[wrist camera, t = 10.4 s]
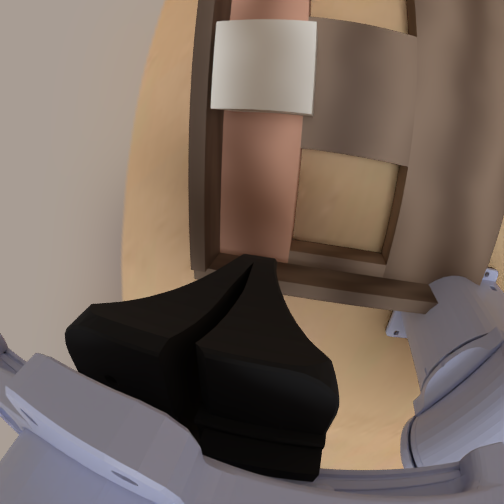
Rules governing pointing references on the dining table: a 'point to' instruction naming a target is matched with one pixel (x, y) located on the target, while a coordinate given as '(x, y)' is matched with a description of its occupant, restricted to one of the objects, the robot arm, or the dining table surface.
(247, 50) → the block
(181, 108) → the dining table surface
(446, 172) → the frame
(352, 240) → the dining table surface
